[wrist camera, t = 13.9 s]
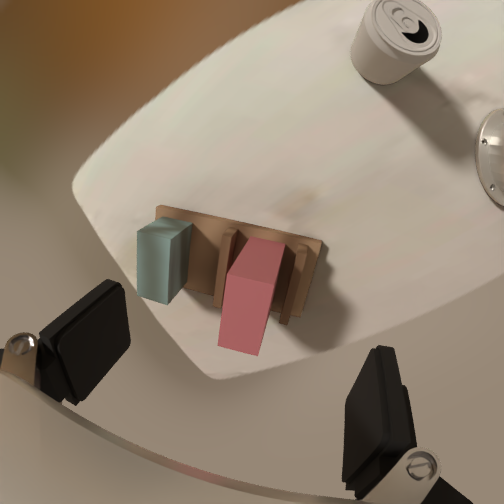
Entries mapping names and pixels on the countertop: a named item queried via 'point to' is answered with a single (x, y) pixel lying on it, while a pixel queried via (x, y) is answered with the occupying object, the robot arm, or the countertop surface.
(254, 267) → the dusty red block
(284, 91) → the countertop surface
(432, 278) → the countertop surface
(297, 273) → the rack
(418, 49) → the beverage can
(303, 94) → the countertop surface
